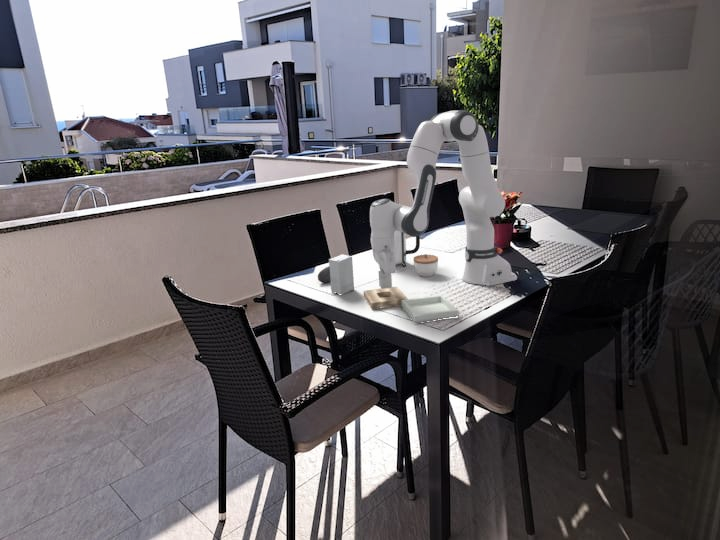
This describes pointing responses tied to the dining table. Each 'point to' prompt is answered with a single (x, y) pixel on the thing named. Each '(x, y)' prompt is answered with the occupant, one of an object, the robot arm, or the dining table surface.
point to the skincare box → (341, 274)
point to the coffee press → (403, 248)
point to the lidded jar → (426, 265)
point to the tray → (429, 308)
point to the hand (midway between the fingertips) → (385, 277)
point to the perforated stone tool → (324, 275)
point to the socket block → (384, 297)
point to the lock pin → (384, 281)
